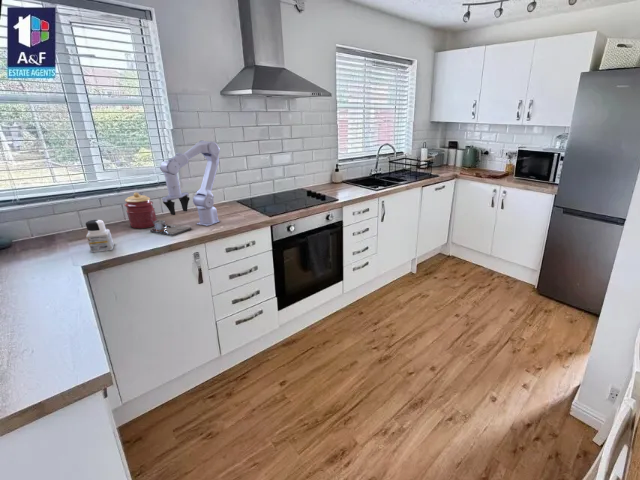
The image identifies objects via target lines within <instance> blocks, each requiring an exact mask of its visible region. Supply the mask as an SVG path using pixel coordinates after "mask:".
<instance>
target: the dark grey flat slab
mask: <svg viewBox="0 0 640 480" xmlns="http://www.w3.org/2000/svg"><path fill="white" fill-rule="evenodd" d="M167 225H168V226H171V228H168V227H166V228H165V229H164V230H157V229H155V228H153V229H150V233H154V234H159V235H165V236H172V237H174V236H177V235H180V234H182V233H183V234H184V233H185V232H188V231H192V227H189V226H182V225H177V224H171V223H168V224H167Z"/></svg>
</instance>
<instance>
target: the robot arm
mask: <svg viewBox="0 0 640 480" xmlns="http://www.w3.org/2000/svg"><path fill="white" fill-rule="evenodd" d="M220 152H221V148H220V147H219V145H218V144H217V142H216V141H209V140H199V141H198V142H195V144H194V145H193V146H191V147H190V148H189V149H187V150H186V151H184V152H183V153H182V152H176V153H175V155H174V156H172V157H169V158H167V160H164V161H162V162H160V166H159V170H160V172H162V173H163V176H164V179H165V184H166V189H167V195H166V196H164V197H161V201H162V203H163V205H164V206H165V207H166V208H167V209H168V211H169V213H170V215H171V216H176V210H175V201H174V200H179V202H180V205H181V208H182V212H188V205H189V201H190V199H191V198H190V197H189V196H190V195H189V192H186V191H185V192H182V190H181V185H180V181H179V176H178V175H179V171H180V169H182V168H183V167H184V166H186V165H187V164H188V163H189V160H191V159H192V158H194V157H195V156H197V155H199V154H201V155H202V156H203V157H204V158H205V159H206V164H205V168H204V169H205V170H204V172H203V177H202V181H201V185H200V188H199V189H198V190H197V191H196V192H195V194H194V196H193V197H192V203H193V204H194V205H195V206H196V208H197V209H196V210H197V214H198V219H199V222H196V225H200V226H205V227H209V226H212V225H214V224H218V223H220V222H221V221H220V220H219V215H218V210H217V208H216V207H215V206H214V205H215V203H214V202H215V201H214V198H215V197H214V194H213V193H212V190H213V187H214V182H215V179H216V175H217V171H218V169H219V163H220V155H219V154H220Z"/></svg>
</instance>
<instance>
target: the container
mask: <svg viewBox="0 0 640 480" xmlns="http://www.w3.org/2000/svg"><path fill="white" fill-rule="evenodd" d="M85 226H86V230H87V234H86V236H85V238H86V241H87V243H88V247H89V249H90V252H91V253H96V252H97V253H99V252H106V251H107V252H108V251H113V248H114V246H115V243H114V239H113V236H112V234H111V231H110V229H109V228H107V227H106V225H105V221H103V220H102V219H90V220H88V221H86V222H85Z"/></svg>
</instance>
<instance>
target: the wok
mask: <svg viewBox="0 0 640 480" xmlns="http://www.w3.org/2000/svg"><path fill="white" fill-rule="evenodd" d="M152 223H153V224H154V226H153V229H157V230H164V229H165V228H166V227H168V228H171V226H168V224H166V220H164V219H157V221H153V222H152Z"/></svg>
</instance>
